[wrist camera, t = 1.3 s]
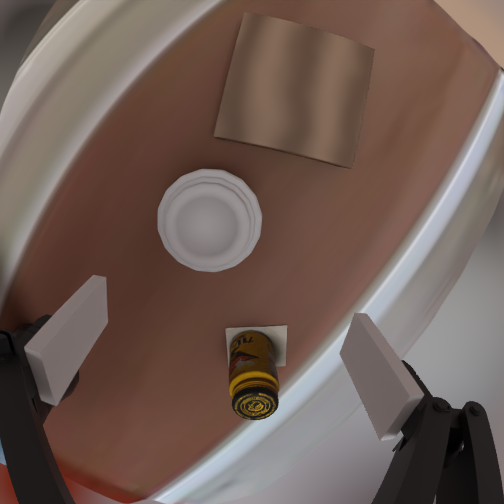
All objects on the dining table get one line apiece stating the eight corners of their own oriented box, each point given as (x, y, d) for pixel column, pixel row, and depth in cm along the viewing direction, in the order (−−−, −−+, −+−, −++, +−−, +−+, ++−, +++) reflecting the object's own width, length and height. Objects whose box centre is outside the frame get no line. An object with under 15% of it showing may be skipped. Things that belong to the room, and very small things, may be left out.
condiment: (225, 327, 40) (222, 387, 29) (286, 324, 41) (303, 382, 29) (228, 367, 43) (228, 428, 31) (285, 364, 43) (298, 423, 32)
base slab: (216, 138, 33) (213, 136, 29) (243, 25, 28) (244, 11, 24) (339, 166, 34) (351, 168, 30) (361, 58, 30) (374, 49, 26)
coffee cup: (264, 176, 34) (279, 187, 23) (242, 248, 37) (246, 292, 26) (189, 156, 33) (165, 157, 22) (170, 229, 36) (142, 264, 24)
